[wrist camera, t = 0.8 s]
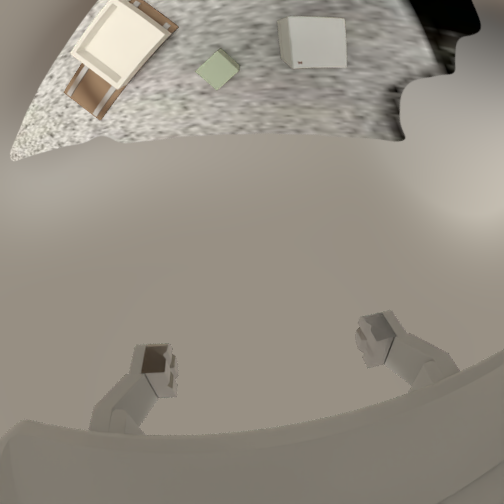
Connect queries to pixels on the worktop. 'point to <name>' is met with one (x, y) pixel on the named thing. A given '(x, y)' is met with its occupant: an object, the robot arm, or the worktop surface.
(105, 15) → the square white tray
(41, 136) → the worktop surface
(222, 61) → the block
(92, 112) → the track
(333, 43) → the supplement box
